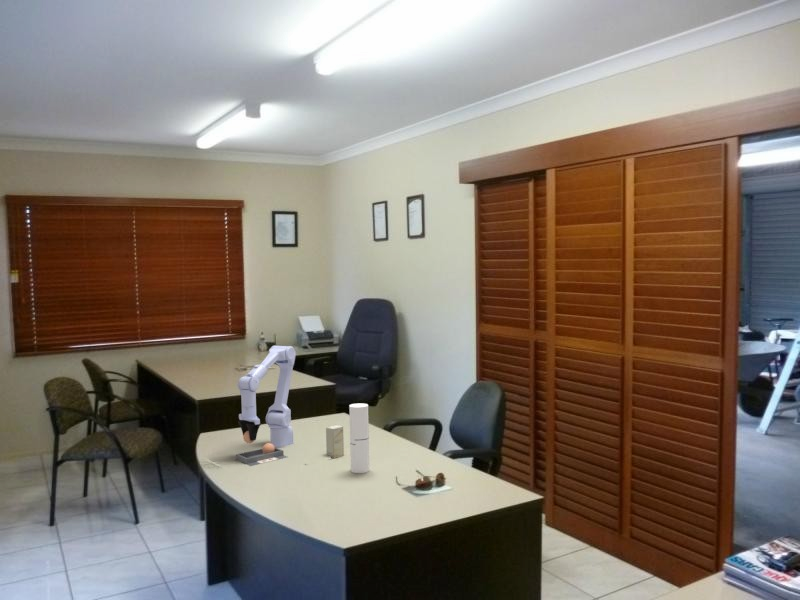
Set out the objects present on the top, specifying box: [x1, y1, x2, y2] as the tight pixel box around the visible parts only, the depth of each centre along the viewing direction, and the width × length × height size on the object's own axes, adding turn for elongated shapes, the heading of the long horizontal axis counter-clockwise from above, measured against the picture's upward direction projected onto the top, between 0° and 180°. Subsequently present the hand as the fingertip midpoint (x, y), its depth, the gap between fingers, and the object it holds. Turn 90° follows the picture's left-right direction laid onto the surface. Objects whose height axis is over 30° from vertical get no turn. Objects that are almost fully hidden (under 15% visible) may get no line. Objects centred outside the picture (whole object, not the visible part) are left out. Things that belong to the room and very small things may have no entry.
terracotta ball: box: [242, 431, 256, 444], centre depth 260 cm, size 5×5×5 cm
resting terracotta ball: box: [261, 442, 275, 454], centre depth 262 cm, size 5×5×5 cm
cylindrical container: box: [348, 402, 370, 474], centre depth 243 cm, size 7×7×25 cm
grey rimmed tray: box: [235, 447, 288, 467], centre depth 258 cm, size 17×13×3 cm
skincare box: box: [325, 424, 345, 459], centre depth 262 cm, size 6×4×12 cm
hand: (249, 438), depth 260 cm, fingers closed on terracotta ball, 5 cm apart
